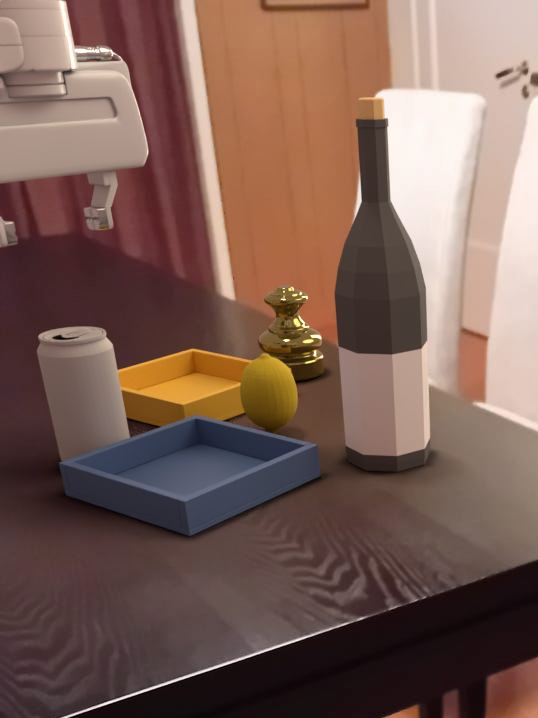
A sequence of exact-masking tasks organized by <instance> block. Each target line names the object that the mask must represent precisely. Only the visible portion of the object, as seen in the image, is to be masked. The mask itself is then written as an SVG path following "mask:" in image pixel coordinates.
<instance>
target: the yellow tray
mask: <svg viewBox="0 0 538 718" xmlns="http://www.w3.org/2000/svg"><path fill="white" fill-rule="evenodd" d="M252 361H253V360H251V359H246V358H242V357H237V356H231V355H226V354H222V353H216V352H211V351H207V350H202V349H197V348H190V349H185V350H183V351H179V352H176V353H172V354H169V355H166V356H162V357H158V358H154V359H152V360H148V361H145V362H141V363H138V364H135V365H131V366H128V367H124V368H120V369H117V370H118V375H119V381H120V386H121V392H122V397H123V402H124V408H125V413H126V419H130V420H134V421H136V422H137V421H138V422H142V423H146V424H150V425H153V426H157V427H159V428H160V427H163V426H165V425H168V424H171V423H174V422H177V421H180V420H183V419H185V418H188V417H191V416H194V415H199V416H204V417H208V418H212V419H216V420H220V421H226V420H229V419H232V418H234V417H237V416H240V415H243V414H246V413H245V411H244V409H243V406H242V402H241V397H240V384H241V378H242V374H243V371H244V369H245V368H246V366H247V365H248V364H249V363H250V362H252ZM289 369H290V371H291V368H289Z"/></svg>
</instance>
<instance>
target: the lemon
mask: <svg viewBox="0 0 538 718" xmlns="http://www.w3.org/2000/svg"><path fill="white" fill-rule="evenodd" d="M240 397H241V402H242V406H243V409H244V411H245V413H244V414H245V415H246V416H247V418H248V419H249V420H250V422H252V424H254V425H255V426H257V427H258V428H262V429H265V431H266V432H269V433H273V434H277V433H278V431H279V430H280V429H281V428H282V427H284V426H286V425H288V424H289V423H290V422H291V420H292V419H293V418H294V416H295V414H296V411H297V410H298V401H299V399H298V397H299V396H298V388H297V384H296V381H294V378H293V375H292V373H291V371H290V369H289V368H288V367H287V366H286V365H285V364H284V363H283V362H281V361H280V360H278V359H276V358H273V357H270V355H269V354H263V353H261V354H260V355H259V356H258V357H257V358H255V359H253V360H252V362H250V363H249V364H248V365H247V366H246V368H245V369H244V371H243V374H242V378H241V384H240Z"/></svg>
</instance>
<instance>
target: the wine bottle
mask: <svg viewBox="0 0 538 718" xmlns="http://www.w3.org/2000/svg"><path fill="white" fill-rule="evenodd" d="M357 107H358V118H355V128H356V129H357V144H358V145H357V147H358V163H359V180H360V198H361V202H360V204H359V208H358V210H357V212H356V215H355V217H354V220H353V222H352V224H351V227H350V229H349V231H348V234H347V236H346V238H345V241H344V244H343V247H342V251H341V255H340V258H339V262H338V265H337V271H336V277H335V278H336V279H335V285H334V307H335V320H336V332H337V333H336V335H337V347H338V358H339V359H338V361H339V374H340V375H339V376H340V388H341V389H340V390H341V401H342V414H343V429H344V442H345V453H346V458H347V462H348V463H351V464H352V465H354V466H356V467H358V468H360V469H362V470H364V471H369V472H370V471H371V472H394V473H398V472H402V471H405V470H409V469H413V468H416V467H419V466H424V465H425V464H426V462H427V459H428V457H429V455H430V451H431V421H430V420H431V418H430V417H431V416H430V386H429V385H430V383H429V381H430V380H429V351H428V350H429V349H428V347H429V346H428V318H427V317H428V315H427V313H428V312H427V287H426V281H425V279H424V274H423V270H422V265H421V263H420V260H419V257H418V254H417V251H416V248H415V246H414V243H413V240H412V238H411V237H410V235H409V233H408V231H407V229H406V227H405V225H404V223H403V222H402V220H401V218H400V216H399V214H398V213H397V210H396V209H395V206H394V204H393V202H392V199H391V180H390V158H389V157H390V156H389V133H388V132H389V131H388V127H389V118H388V117H387V118H386V116H385V98H383V97H359V98H358V99H357Z"/></svg>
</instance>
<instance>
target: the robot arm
mask: <svg viewBox="0 0 538 718" xmlns="http://www.w3.org/2000/svg"><path fill="white" fill-rule="evenodd" d="M112 59H114V60H112ZM130 76H131V75H130V71H129V67H128V64H127V63H126V61H124V60H123V58H122V57H121V56H120V55H119V54H118V53H116V52H115V51H113V50H112V48H111V47H110V46H107V45H94V46H84V45H75V41H74V36H73V31H72V27H71V22H70V16H69V11H68V5H67V1H66V0H0V185H2V184H11V183H18V182H27V181H35V180H36V181H37V180H43V179H44V180H45V179H52V178H61V177H68V176H70V177H71V176H76V175H77V176H78V175H86V177H87V181H88V184H89V185H90V186H94V188H93V193H92V198H91V204H90V206H88V207H83V213H84V217H85V218H86V221H85V224H86V227H87V229H88V230H89V231H95V232H100V231H101V232H102V231H107V230H112V229H113V228H114V220H113V214H112V207H113V203H114V200H115V196H116V193H117V189H118V185H119V183H118V178H117V173H116V172H117V171H121V170H129V169H136V168H137V169H138V168H143V167H144V166H145V164H146V162H147V159H148V156H149V145H148V140H147V135H146V132H145V128H144V124H143V120H142V116H141V113H140V109H139V106H138V102H137V99H136V96H135V93H134V90H133V87H132V82H131V77H130ZM16 229H17V228H16V224H15V222H14V221H11V220H4V219H3V217H2V216H1V215H0V248H8V247H12V246H17V245H18V244H19V238H18V236H17V234H16V233H17V230H16Z"/></svg>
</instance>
